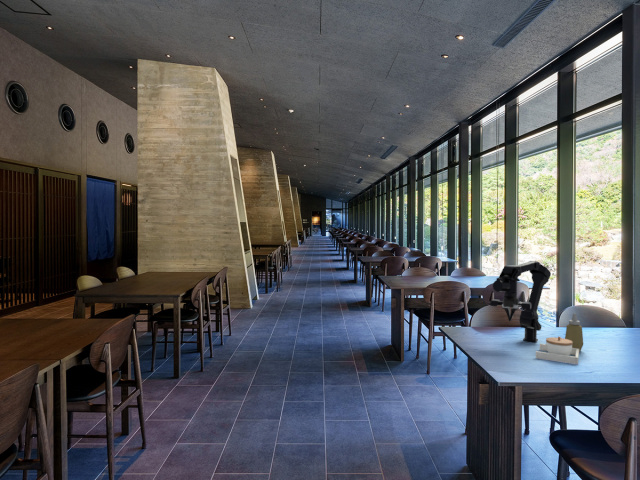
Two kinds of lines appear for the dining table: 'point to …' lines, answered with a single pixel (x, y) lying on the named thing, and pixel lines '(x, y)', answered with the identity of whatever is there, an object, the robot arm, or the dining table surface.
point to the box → (558, 355)
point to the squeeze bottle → (574, 332)
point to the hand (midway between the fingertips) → (510, 321)
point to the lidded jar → (559, 345)
